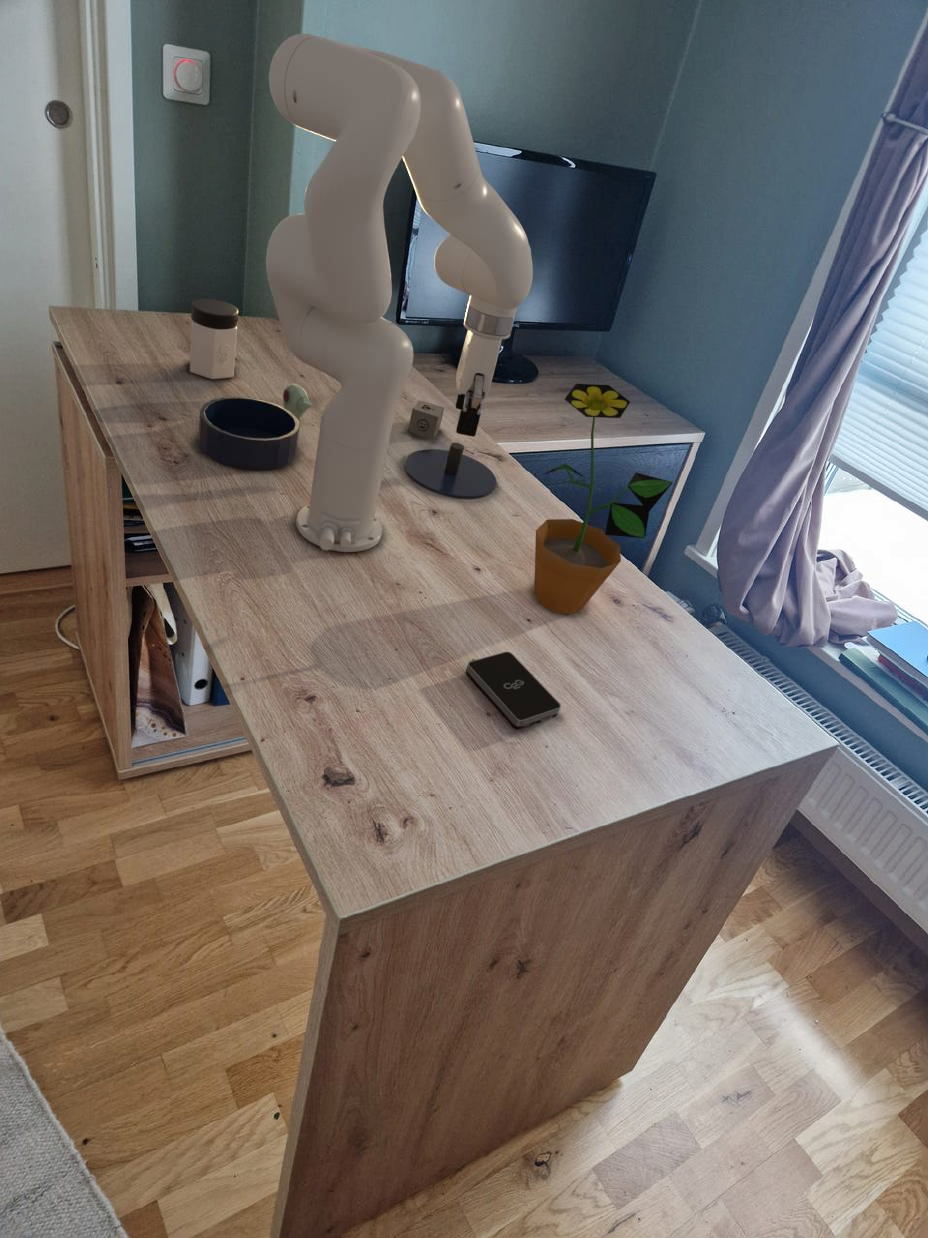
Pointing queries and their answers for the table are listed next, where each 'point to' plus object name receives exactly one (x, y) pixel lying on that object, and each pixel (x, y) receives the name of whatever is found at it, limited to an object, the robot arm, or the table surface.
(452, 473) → the lid
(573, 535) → the potted plant
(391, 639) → the table surface
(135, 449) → the table surface
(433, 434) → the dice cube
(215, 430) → the tin
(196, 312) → the jar
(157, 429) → the table surface
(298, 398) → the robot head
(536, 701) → the external hard drive
